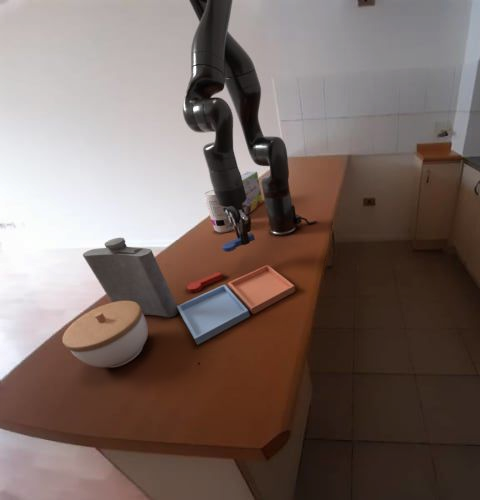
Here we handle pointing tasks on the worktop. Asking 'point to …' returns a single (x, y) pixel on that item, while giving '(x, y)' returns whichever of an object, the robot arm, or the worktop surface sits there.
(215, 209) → the supplement can
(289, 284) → the orange tray
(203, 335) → the blue tray
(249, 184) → the snack box
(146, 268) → the hip flask
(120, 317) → the lidded bowl
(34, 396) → the worktop surface
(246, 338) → the worktop surface
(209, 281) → the red spoon
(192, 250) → the worktop surface
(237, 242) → the blue spoon
